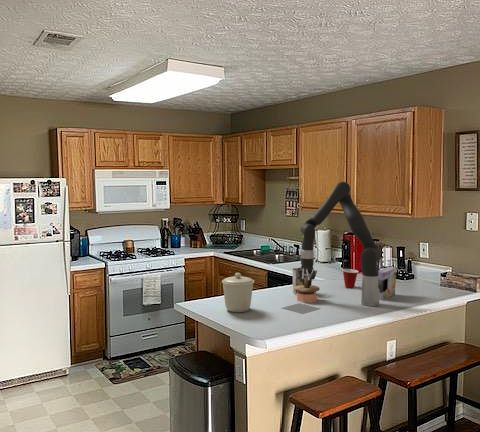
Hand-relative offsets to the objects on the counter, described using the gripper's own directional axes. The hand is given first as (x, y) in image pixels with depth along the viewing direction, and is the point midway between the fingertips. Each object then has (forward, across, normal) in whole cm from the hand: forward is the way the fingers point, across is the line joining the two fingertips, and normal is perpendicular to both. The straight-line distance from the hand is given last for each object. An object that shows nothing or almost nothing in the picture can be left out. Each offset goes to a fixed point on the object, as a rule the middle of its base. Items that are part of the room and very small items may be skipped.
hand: (306, 285), depth 297 cm
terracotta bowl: (+9, 0, 0) cm, 9 cm away
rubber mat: (+9, -10, +17) cm, 22 cm away
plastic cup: (+9, +3, -49) cm, 50 cm away
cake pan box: (+9, -27, -43) cm, 52 cm away
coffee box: (+9, +14, -11) cm, 20 cm away
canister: (+9, +12, +45) cm, 48 cm away
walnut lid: (+2, 0, 0) cm, 2 cm away
